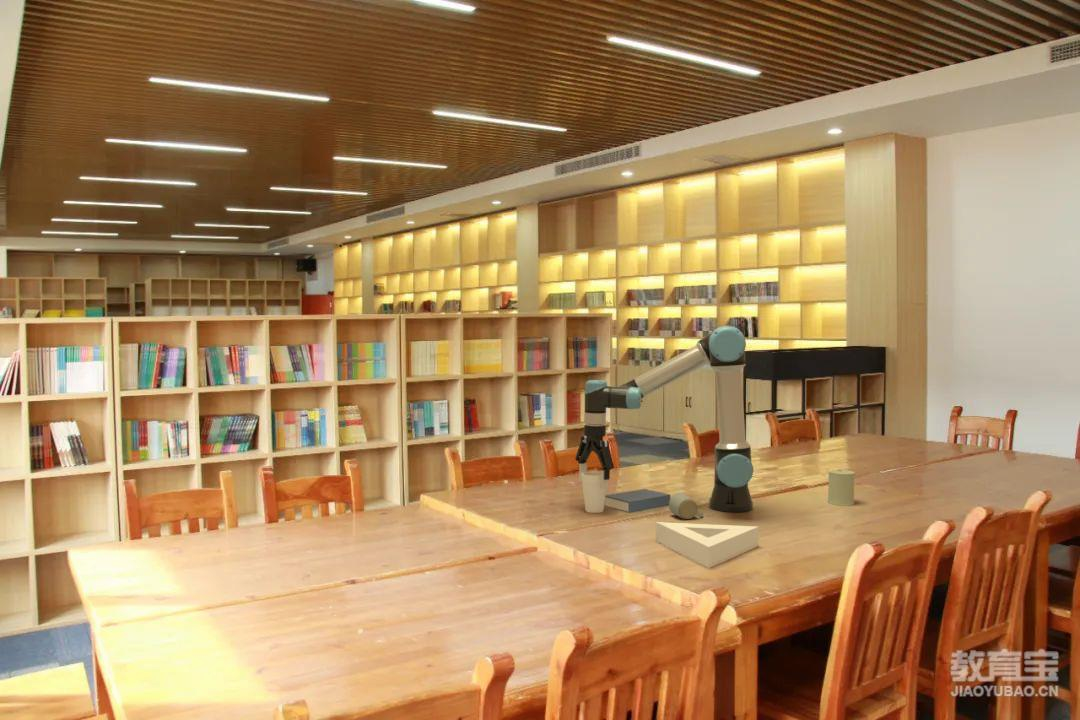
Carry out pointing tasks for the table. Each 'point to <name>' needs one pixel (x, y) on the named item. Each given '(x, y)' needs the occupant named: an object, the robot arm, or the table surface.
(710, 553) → the triangle block
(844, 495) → the can
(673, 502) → the ceramic mug
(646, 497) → the book
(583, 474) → the foam cup
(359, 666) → the table surface
